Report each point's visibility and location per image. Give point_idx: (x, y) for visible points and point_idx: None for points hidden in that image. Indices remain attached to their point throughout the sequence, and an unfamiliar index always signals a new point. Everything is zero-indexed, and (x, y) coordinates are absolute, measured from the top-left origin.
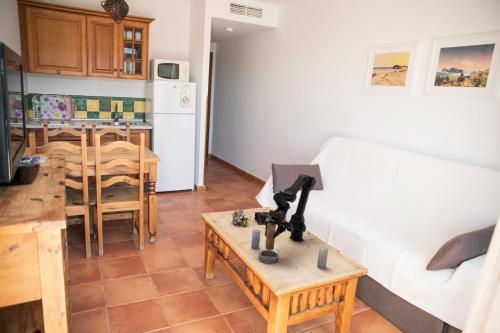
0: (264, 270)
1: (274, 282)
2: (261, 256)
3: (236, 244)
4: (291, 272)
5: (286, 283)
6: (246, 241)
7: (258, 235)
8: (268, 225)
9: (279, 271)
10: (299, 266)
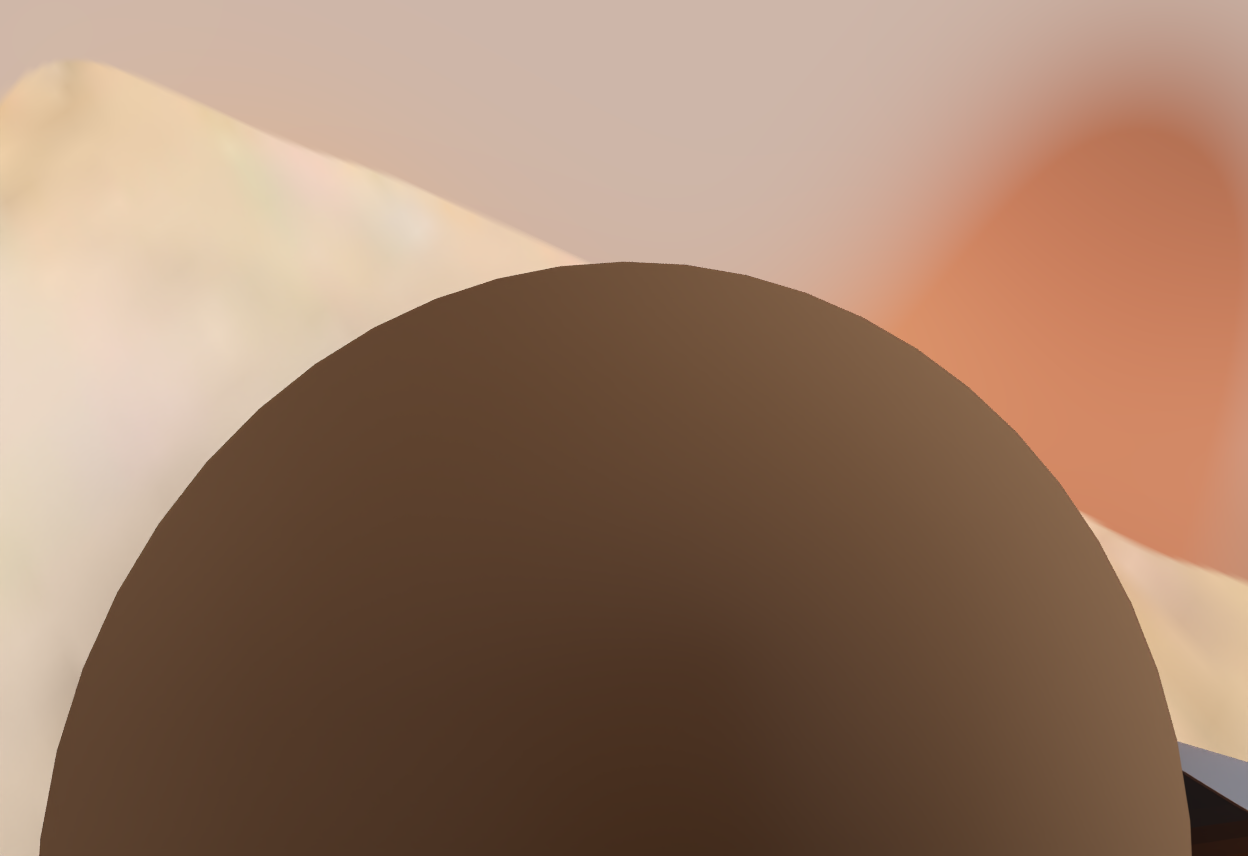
0: (431, 274)
1: (169, 129)
2: None
3: (1225, 606)
4: (87, 498)
5: (24, 206)
6: None
7: None
8: (757, 304)
9: (251, 395)
10: (52, 774)
